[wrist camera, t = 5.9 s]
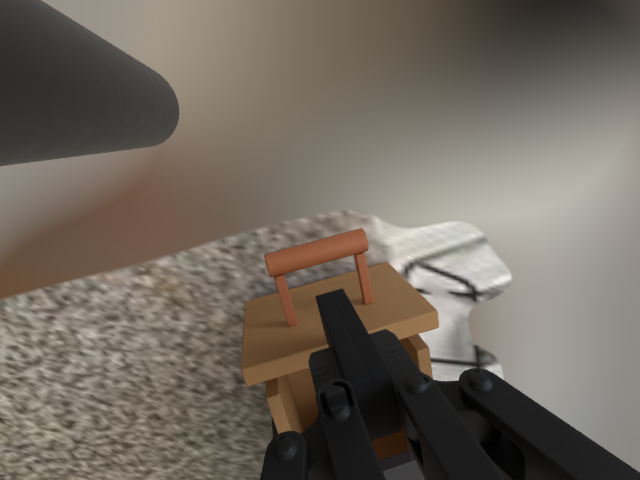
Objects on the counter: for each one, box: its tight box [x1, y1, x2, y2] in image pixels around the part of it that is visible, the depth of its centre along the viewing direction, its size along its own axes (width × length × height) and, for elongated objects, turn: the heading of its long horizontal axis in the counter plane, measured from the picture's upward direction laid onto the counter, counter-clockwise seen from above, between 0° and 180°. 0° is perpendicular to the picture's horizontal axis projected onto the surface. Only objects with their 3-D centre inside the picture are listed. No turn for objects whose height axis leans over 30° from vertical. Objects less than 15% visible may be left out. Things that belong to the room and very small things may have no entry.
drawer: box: [241, 229, 439, 461], centre depth 23 cm, size 18×11×8 cm, turn 13°
